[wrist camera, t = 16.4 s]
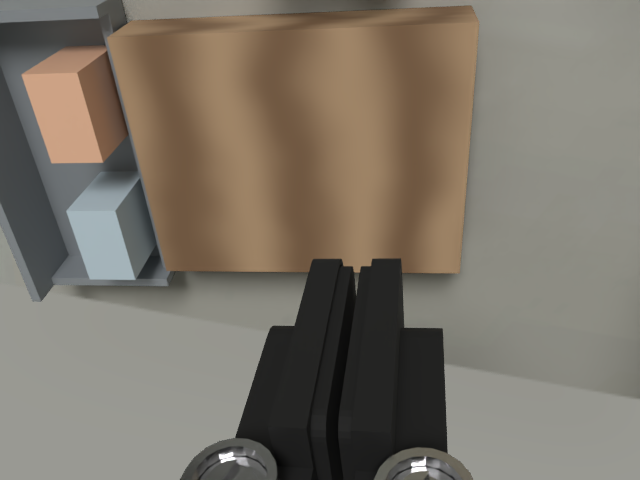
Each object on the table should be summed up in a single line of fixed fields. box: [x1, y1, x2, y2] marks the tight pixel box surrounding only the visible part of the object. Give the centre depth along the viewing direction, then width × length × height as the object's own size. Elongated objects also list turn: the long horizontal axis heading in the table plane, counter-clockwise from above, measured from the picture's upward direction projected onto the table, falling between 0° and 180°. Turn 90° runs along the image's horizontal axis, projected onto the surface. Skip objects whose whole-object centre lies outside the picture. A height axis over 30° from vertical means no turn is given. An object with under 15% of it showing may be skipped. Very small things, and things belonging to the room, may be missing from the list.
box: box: [0, 0, 176, 302], centre depth 36 cm, size 9×18×5 cm, turn 4°
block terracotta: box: [21, 45, 129, 163], centre depth 34 cm, size 5×5×3 cm
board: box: [107, 6, 479, 273], centre depth 35 cm, size 19×15×4 cm
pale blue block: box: [66, 171, 157, 280], centre depth 38 cm, size 5×5×3 cm
